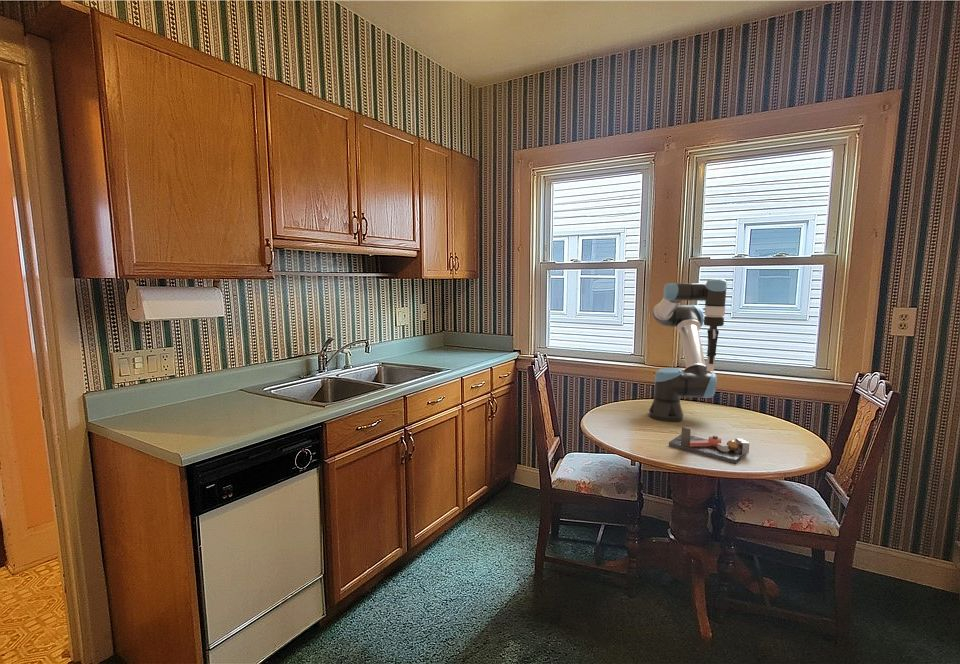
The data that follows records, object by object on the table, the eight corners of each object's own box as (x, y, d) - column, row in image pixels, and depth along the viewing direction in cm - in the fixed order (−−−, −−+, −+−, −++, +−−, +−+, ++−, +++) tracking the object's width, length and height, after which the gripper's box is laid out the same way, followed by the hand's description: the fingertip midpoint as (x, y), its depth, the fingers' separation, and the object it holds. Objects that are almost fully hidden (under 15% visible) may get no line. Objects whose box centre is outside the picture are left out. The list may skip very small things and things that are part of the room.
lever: (690, 452, 167) (691, 434, 166) (678, 443, 176) (679, 426, 175) (730, 451, 169) (732, 432, 168) (716, 442, 177) (717, 425, 176)
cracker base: (668, 446, 179) (669, 432, 178) (682, 437, 188) (683, 424, 188) (740, 465, 161) (741, 450, 160) (751, 454, 171) (752, 440, 170)
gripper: (703, 314, 198) (699, 367, 201) (705, 317, 186) (701, 373, 189) (722, 315, 195) (718, 368, 198) (726, 317, 183) (721, 374, 186)
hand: (710, 370), depth 193 cm, fingers closed
